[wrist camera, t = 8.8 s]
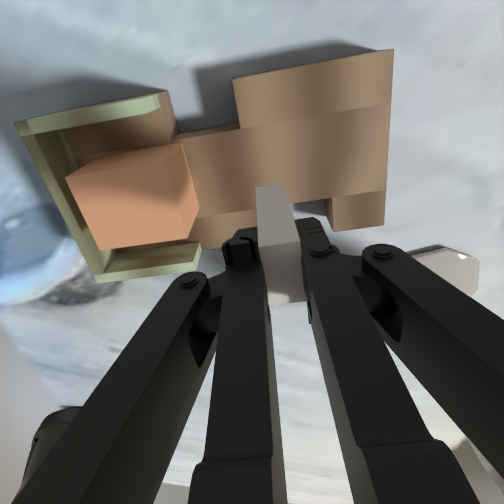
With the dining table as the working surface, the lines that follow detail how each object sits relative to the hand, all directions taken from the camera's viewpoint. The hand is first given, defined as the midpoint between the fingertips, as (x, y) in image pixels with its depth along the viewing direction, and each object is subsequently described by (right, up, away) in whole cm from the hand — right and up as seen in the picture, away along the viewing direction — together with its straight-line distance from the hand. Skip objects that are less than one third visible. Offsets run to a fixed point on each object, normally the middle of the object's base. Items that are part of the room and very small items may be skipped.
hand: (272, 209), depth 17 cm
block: (-9, +3, +6) cm, 11 cm away
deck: (-3, +5, +8) cm, 10 cm away
